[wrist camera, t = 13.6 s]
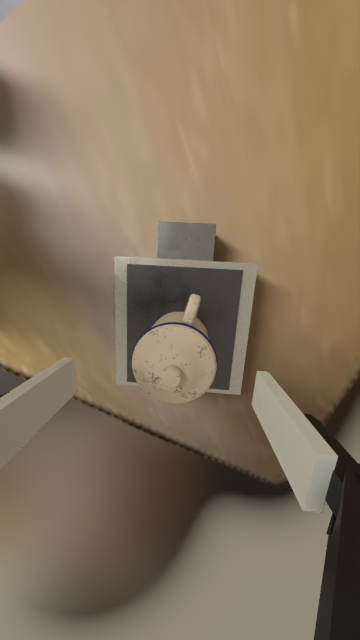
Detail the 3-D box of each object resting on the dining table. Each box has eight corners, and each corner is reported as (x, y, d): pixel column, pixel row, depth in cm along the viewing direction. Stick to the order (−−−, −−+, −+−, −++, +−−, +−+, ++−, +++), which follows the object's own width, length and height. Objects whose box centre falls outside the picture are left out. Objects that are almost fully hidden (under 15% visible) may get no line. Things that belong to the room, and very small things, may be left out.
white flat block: (127, 367, 38) (114, 386, 31) (127, 228, 32) (111, 216, 26) (232, 376, 37) (241, 397, 30) (250, 234, 31) (265, 222, 25)
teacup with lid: (198, 376, 30) (201, 435, 19) (142, 357, 30) (110, 405, 18) (226, 301, 27) (250, 318, 16) (165, 281, 27) (145, 283, 16)
